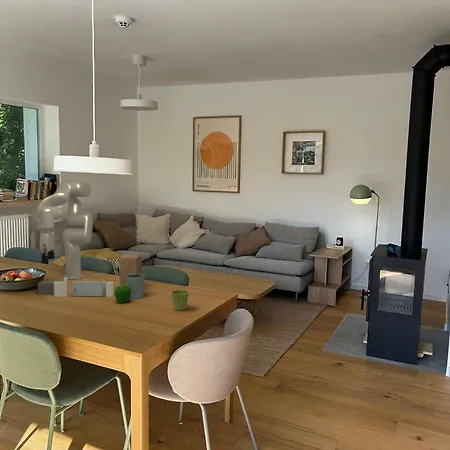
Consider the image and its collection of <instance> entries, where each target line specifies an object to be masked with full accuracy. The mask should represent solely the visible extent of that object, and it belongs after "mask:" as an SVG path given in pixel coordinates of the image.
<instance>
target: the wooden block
mask: <svg viewBox="0 0 450 450" xmlns="http://www.w3.org/2000/svg"><path fill="white" fill-rule="evenodd" d="M142 257H143V256H142V254H140V253H139V254H136V253H134V254H132V253H125V254H123V255H121V256H120V257H119V287H121V286H122V285H123V284H127V282H126V275H128V274H143V270H142V268H143V267H142V265H143V262H142V261H143V260H142ZM125 287H127V286H126V285H125Z"/></svg>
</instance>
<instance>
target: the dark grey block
mask: <svg viewBox="0 0 450 450" xmlns="http://www.w3.org/2000/svg"><path fill="white" fill-rule="evenodd" d="M54 282H61V280H50V279H49V280H48V279H47V280H41V281H39V282H38V283H37V295H38V296H54Z"/></svg>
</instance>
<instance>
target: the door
mask: <svg viewBox="0 0 450 450" xmlns="http://www.w3.org/2000/svg"><path fill="white" fill-rule="evenodd" d="M71 284H72V296H73V297H103V281H85V280H84V281H83V280H81V281H77V280H76V281H72V283H71Z"/></svg>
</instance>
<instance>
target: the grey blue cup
mask: <svg viewBox="0 0 450 450" xmlns="http://www.w3.org/2000/svg"><path fill="white" fill-rule="evenodd" d="M145 277H146V275H145V274H144V273H142V274H128V275H126V282H127V287H130V288H131V296H130V300H139V299H143V298H144V293H145V292H144V289H145Z"/></svg>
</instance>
